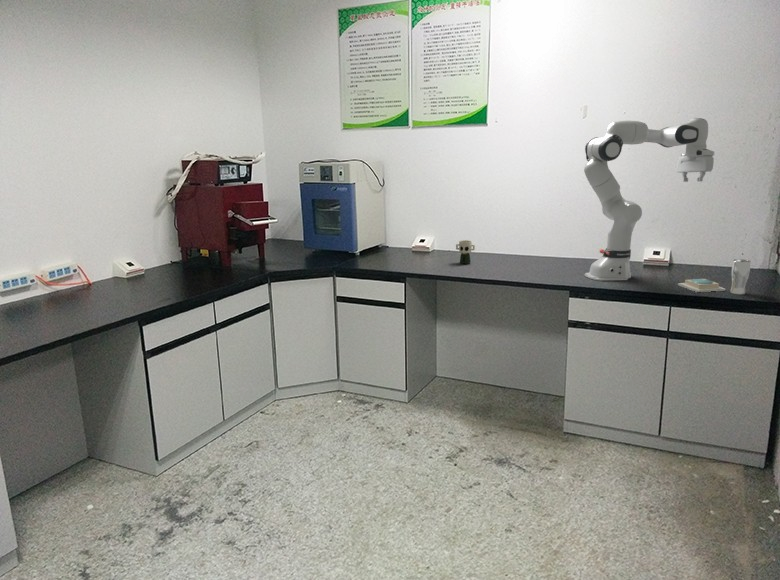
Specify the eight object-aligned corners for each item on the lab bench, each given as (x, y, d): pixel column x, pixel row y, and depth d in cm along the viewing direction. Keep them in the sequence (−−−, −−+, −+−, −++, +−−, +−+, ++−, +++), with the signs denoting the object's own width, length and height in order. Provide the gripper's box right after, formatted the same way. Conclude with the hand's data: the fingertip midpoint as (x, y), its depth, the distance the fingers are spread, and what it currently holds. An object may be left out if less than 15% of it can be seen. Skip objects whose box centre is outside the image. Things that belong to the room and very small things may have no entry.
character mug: (454, 264, 329) (454, 242, 326) (457, 261, 336) (457, 239, 332) (473, 265, 326) (473, 242, 322) (475, 262, 332) (476, 240, 329)
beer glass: (742, 295, 253) (746, 262, 249) (725, 292, 259) (730, 260, 255) (749, 293, 257) (754, 260, 253) (733, 290, 263) (737, 258, 259)
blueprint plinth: (697, 292, 260) (698, 285, 259) (677, 285, 273) (678, 278, 272) (725, 290, 262) (726, 284, 261) (704, 283, 275) (705, 277, 274)
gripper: (674, 153, 289) (671, 181, 291) (706, 151, 269) (702, 181, 271) (685, 154, 290) (682, 182, 292) (717, 151, 271) (713, 181, 273)
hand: (692, 181), depth 282 cm, fingers open, 8 cm apart
